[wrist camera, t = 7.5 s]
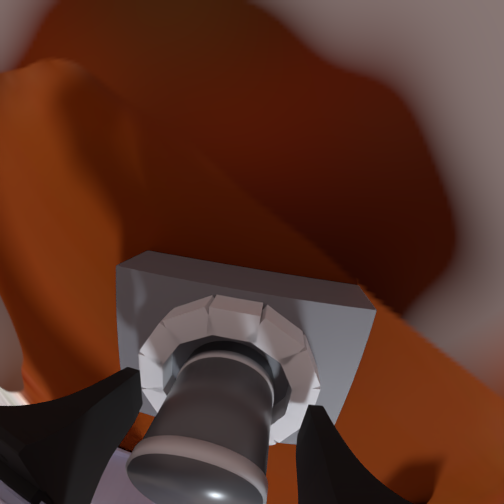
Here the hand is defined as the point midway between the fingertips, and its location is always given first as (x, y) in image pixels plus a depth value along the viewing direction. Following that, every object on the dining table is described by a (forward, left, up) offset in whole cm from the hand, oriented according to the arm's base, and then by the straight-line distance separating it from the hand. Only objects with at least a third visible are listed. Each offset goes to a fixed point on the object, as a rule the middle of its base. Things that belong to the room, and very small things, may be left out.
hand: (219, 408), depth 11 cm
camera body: (0, 0, -6) cm, 6 cm away
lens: (0, 0, -2) cm, 3 cm away
